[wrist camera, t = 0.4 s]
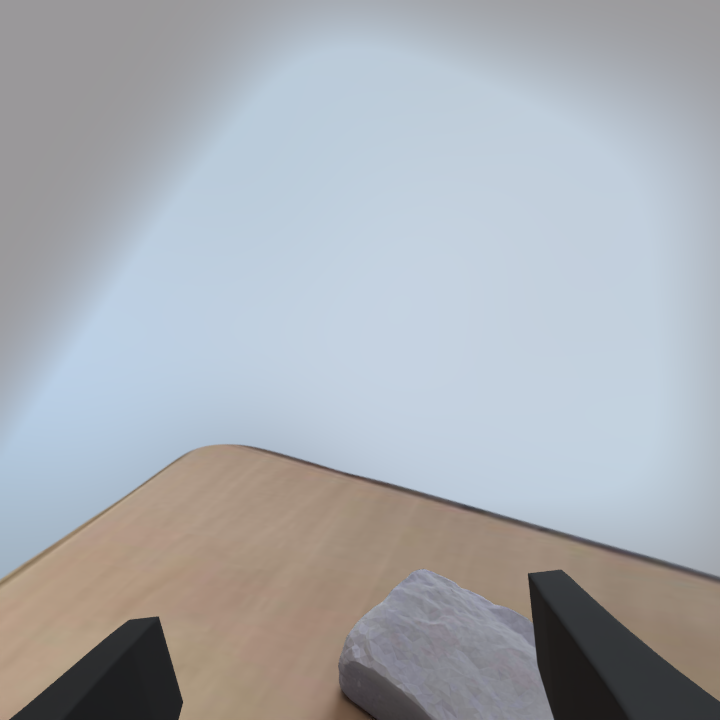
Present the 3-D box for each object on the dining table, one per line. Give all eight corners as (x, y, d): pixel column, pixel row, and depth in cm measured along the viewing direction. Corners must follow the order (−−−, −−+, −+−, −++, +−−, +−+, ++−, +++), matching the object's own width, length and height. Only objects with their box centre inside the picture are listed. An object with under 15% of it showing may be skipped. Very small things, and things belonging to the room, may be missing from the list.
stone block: (404, 607, 37) (319, 697, 29) (419, 548, 36) (336, 624, 27) (576, 712, 31) (534, 864, 23) (601, 645, 30) (566, 779, 22)
